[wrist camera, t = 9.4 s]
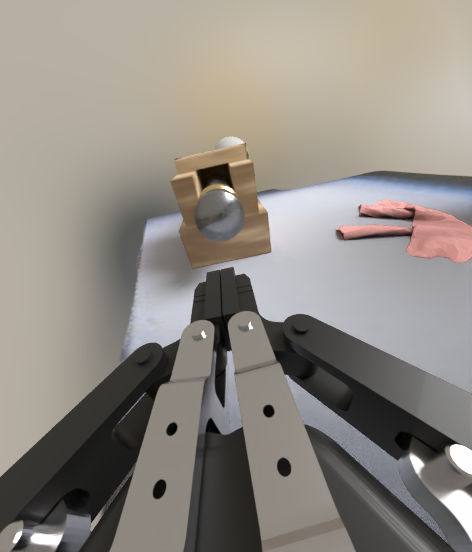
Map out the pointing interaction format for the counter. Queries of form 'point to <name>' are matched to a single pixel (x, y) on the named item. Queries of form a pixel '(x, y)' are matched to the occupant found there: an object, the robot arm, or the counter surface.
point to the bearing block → (242, 181)
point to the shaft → (219, 210)
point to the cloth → (418, 230)
